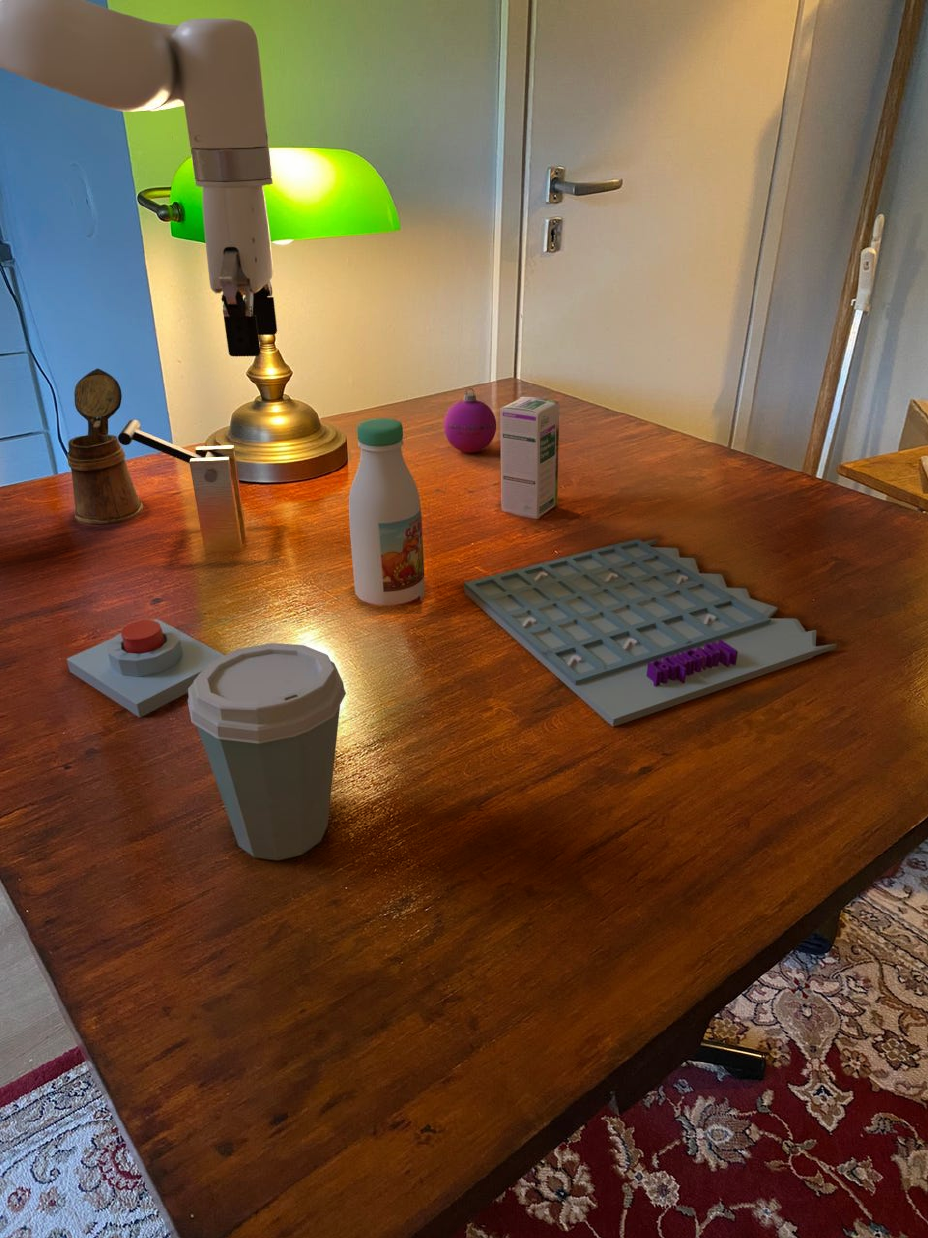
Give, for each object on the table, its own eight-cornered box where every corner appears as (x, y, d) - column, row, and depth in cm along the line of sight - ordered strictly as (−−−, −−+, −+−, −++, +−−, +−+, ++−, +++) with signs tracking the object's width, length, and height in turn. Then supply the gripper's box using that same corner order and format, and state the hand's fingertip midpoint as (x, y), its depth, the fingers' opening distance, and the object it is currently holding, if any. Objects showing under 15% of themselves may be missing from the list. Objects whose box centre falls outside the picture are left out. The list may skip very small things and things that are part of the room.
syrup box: (538, 520, 119) (541, 412, 112) (499, 511, 122) (499, 405, 115) (557, 505, 123) (561, 400, 116) (519, 497, 126) (521, 394, 119)
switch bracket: (170, 573, 107) (150, 470, 101) (185, 538, 116) (167, 441, 110) (272, 568, 108) (259, 465, 102) (280, 533, 117) (268, 437, 110)
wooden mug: (157, 493, 129) (133, 366, 120) (138, 532, 118) (110, 394, 109) (93, 496, 128) (63, 369, 120) (67, 536, 117) (33, 397, 108)
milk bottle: (357, 618, 97) (342, 438, 87) (353, 585, 104) (339, 414, 94) (429, 611, 98) (422, 433, 88) (420, 579, 105) (413, 409, 95)
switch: (114, 445, 102) (121, 427, 101) (125, 431, 106) (131, 413, 105) (219, 489, 105) (226, 471, 104) (225, 473, 110) (232, 456, 109)
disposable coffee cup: (193, 824, 70) (158, 659, 62) (318, 771, 75) (300, 613, 68) (249, 910, 62) (217, 735, 55) (384, 845, 68) (371, 677, 60)
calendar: (659, 543, 113) (661, 525, 112) (837, 649, 91) (842, 628, 89) (463, 593, 102) (463, 574, 101) (611, 727, 80) (612, 704, 79)
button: (117, 646, 86) (113, 630, 85) (150, 631, 88) (146, 615, 87) (138, 659, 84) (135, 643, 83) (171, 643, 86) (168, 627, 85)
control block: (71, 677, 88) (61, 642, 86) (160, 636, 95) (153, 602, 93) (141, 724, 81) (132, 687, 79) (232, 676, 88) (226, 640, 86)
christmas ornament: (444, 460, 139) (442, 395, 135) (444, 442, 147) (443, 381, 142) (497, 459, 139) (497, 395, 135) (495, 442, 147) (495, 380, 142)
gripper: (215, 163, 97) (237, 327, 106) (170, 175, 82) (200, 365, 91) (285, 162, 97) (301, 326, 106) (253, 174, 82) (274, 364, 91)
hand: (254, 344), depth 98 cm, fingers open, 9 cm apart
